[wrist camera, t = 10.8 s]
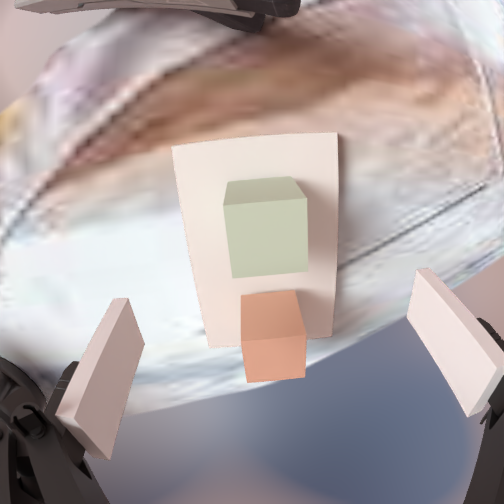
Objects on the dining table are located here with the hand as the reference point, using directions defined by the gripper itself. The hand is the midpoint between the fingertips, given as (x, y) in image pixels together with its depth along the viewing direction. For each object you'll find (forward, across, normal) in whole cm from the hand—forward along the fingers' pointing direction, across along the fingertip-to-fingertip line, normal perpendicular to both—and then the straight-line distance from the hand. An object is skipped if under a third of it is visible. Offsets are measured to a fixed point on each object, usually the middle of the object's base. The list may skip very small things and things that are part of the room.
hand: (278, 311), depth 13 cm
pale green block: (+14, 0, 0) cm, 14 cm away
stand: (+16, 0, -5) cm, 17 cm away
